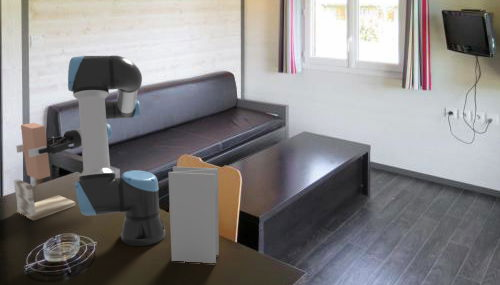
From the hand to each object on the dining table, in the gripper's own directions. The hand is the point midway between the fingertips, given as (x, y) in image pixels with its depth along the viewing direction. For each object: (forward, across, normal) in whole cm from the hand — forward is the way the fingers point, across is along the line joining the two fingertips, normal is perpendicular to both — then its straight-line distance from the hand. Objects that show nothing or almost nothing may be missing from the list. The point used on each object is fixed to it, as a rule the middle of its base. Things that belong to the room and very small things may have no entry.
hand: (23, 151), depth 176 cm
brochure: (-14, -74, -25) cm, 79 cm away
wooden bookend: (-6, -1, -25) cm, 26 cm away
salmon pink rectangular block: (-5, 0, -11) cm, 12 cm away
